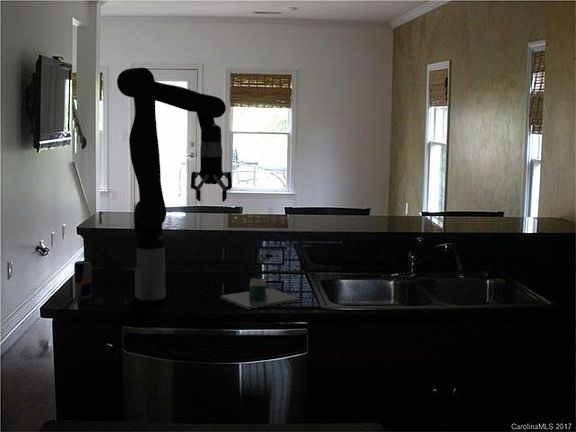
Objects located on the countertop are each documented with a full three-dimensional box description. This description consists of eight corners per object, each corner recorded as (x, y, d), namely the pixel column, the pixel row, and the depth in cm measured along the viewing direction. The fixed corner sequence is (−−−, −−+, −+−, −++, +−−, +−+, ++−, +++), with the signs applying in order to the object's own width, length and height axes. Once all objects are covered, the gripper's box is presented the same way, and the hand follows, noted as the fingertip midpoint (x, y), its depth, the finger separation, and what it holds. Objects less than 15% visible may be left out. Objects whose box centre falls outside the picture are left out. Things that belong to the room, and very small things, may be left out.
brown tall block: (251, 293, 272) (249, 301, 261) (251, 278, 272) (249, 285, 261) (265, 293, 272) (264, 301, 261) (265, 278, 272) (264, 286, 261)
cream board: (246, 309, 255) (246, 306, 254) (220, 298, 269) (220, 295, 268) (299, 301, 266) (299, 298, 265) (271, 291, 280) (271, 288, 279)
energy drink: (75, 300, 265) (74, 264, 263) (75, 296, 270) (74, 261, 268) (92, 299, 266) (91, 263, 265) (91, 295, 271) (90, 260, 270)
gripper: (189, 155, 278) (189, 202, 280) (230, 156, 278) (230, 202, 280) (192, 154, 285) (192, 199, 287) (232, 154, 285) (232, 200, 287)
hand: (211, 201), depth 284 cm, fingers open, 8 cm apart
